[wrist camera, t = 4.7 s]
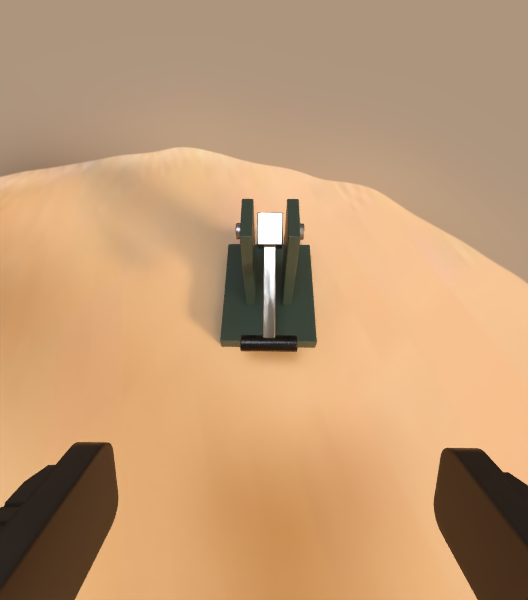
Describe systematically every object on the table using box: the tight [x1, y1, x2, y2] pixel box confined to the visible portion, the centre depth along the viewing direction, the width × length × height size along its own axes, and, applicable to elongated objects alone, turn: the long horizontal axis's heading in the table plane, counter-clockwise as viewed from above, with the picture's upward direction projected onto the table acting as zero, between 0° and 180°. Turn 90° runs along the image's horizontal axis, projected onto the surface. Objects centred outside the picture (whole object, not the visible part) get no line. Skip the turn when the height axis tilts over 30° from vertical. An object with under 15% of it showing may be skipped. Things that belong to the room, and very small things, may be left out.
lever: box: [240, 212, 298, 352], centre depth 30 cm, size 12×5×2 cm, turn 179°
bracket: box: [221, 199, 317, 347], centre depth 34 cm, size 13×10×13 cm
